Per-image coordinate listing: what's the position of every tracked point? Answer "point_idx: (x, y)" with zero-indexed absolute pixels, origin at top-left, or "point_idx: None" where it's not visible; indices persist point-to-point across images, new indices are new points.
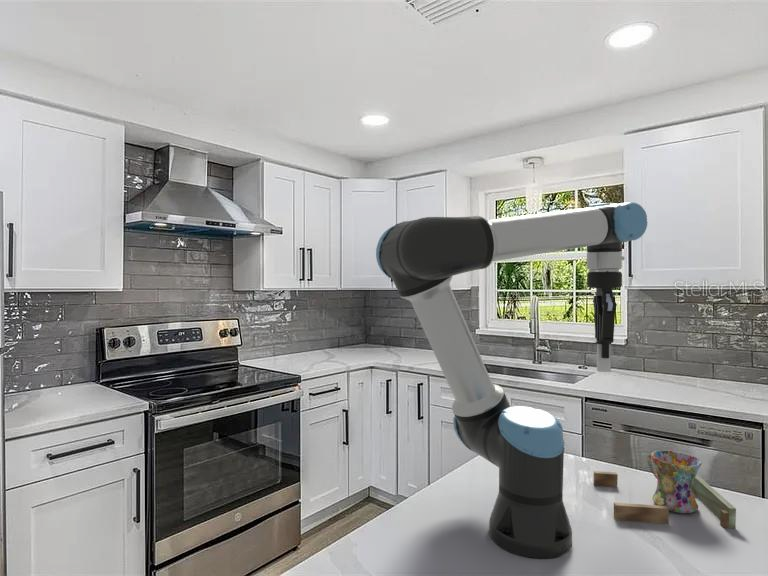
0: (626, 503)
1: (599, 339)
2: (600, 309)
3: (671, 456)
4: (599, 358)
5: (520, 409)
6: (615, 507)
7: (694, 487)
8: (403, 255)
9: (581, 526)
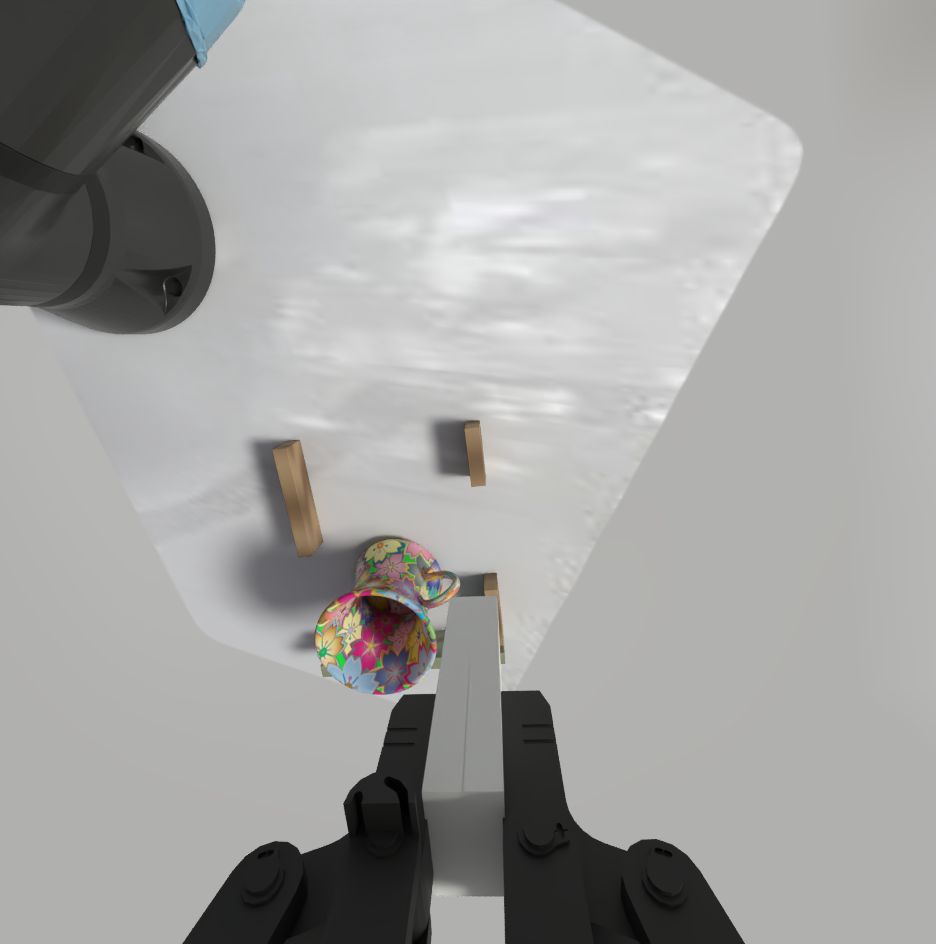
0: (291, 475)
1: (391, 865)
2: None
3: (426, 639)
4: (441, 671)
5: None
6: (275, 448)
7: None
8: None
9: (224, 362)
